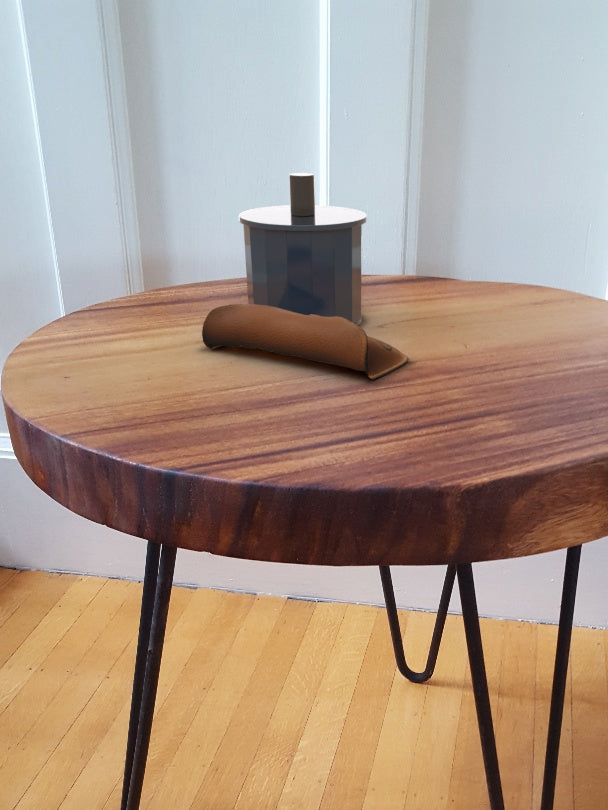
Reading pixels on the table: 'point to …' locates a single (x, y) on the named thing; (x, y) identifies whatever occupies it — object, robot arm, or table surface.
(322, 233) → the pot
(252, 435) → the table surface
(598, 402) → the table surface
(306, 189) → the pot lid
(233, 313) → the sunglasses case
